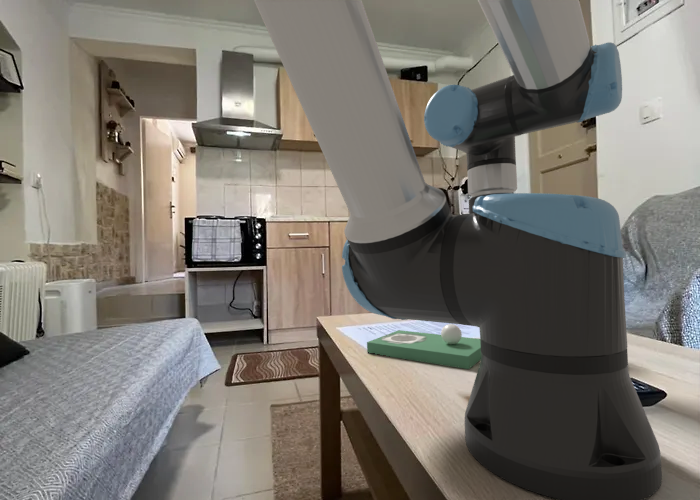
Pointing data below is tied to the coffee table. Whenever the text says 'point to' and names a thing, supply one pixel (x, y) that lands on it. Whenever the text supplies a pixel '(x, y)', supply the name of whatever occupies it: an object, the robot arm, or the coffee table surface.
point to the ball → (451, 334)
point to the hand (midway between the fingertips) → (499, 338)
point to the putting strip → (427, 348)
